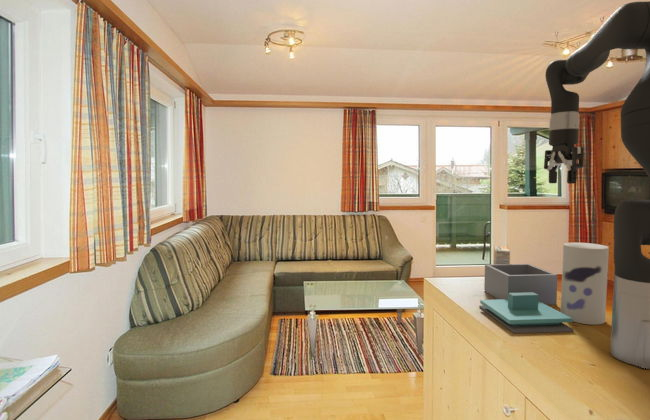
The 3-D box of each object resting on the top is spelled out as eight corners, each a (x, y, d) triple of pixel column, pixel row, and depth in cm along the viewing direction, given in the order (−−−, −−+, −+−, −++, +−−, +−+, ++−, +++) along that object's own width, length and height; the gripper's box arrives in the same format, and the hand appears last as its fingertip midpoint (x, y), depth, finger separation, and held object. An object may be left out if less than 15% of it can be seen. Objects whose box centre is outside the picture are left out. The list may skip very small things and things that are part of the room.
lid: (571, 326, 96) (572, 302, 96) (509, 328, 96) (510, 304, 95) (533, 305, 112) (534, 285, 112) (480, 307, 112) (480, 286, 111)
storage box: (556, 304, 115) (557, 274, 115) (507, 305, 115) (508, 275, 114) (527, 290, 130) (528, 263, 130) (484, 291, 130) (484, 264, 129)
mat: (573, 331, 95) (573, 329, 95) (514, 333, 94) (514, 330, 94) (529, 306, 114) (529, 304, 114) (479, 307, 113) (479, 305, 113)
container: (561, 321, 102) (565, 246, 100) (559, 309, 111) (562, 240, 109) (608, 327, 97) (612, 249, 96) (601, 315, 106) (605, 243, 104)
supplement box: (492, 281, 142) (493, 245, 141) (506, 282, 141) (507, 246, 139) (494, 286, 134) (495, 249, 133) (509, 288, 133) (510, 250, 132)
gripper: (593, 125, 108) (591, 183, 109) (560, 131, 122) (558, 183, 123) (567, 125, 107) (565, 183, 109) (537, 131, 122) (535, 183, 123)
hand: (561, 183), depth 116 cm, fingers open, 8 cm apart
